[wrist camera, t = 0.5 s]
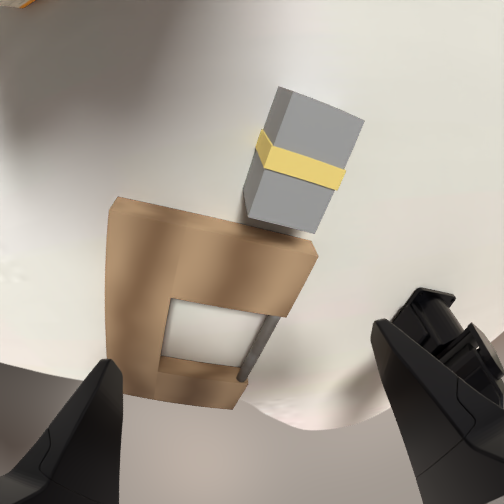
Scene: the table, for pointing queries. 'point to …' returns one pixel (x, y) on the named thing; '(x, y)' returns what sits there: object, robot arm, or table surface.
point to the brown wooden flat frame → (191, 294)
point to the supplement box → (15, 3)
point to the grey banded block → (299, 161)
